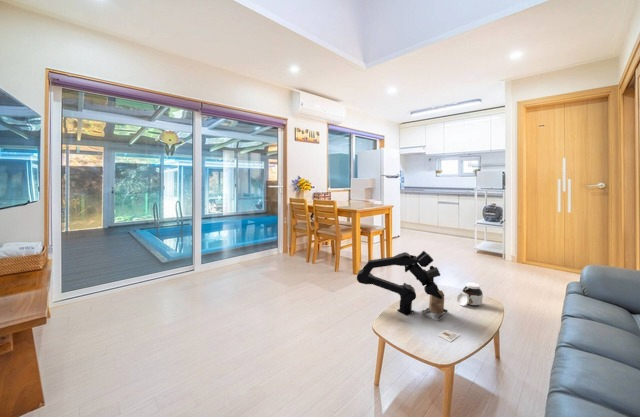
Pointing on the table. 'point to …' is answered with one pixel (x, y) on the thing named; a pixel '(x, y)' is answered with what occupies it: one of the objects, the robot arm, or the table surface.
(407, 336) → the table surface
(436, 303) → the walnut block
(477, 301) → the spread jar
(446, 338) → the card
